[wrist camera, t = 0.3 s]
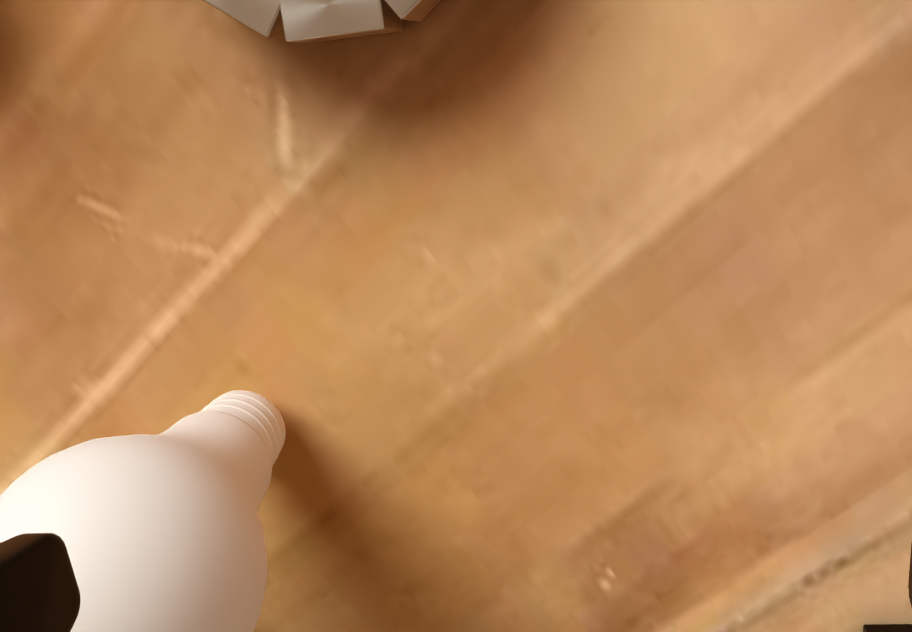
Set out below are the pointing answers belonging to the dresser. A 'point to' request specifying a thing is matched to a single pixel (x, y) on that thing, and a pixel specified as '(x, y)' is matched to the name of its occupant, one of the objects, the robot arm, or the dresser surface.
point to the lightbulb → (161, 519)
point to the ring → (324, 17)
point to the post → (888, 628)
